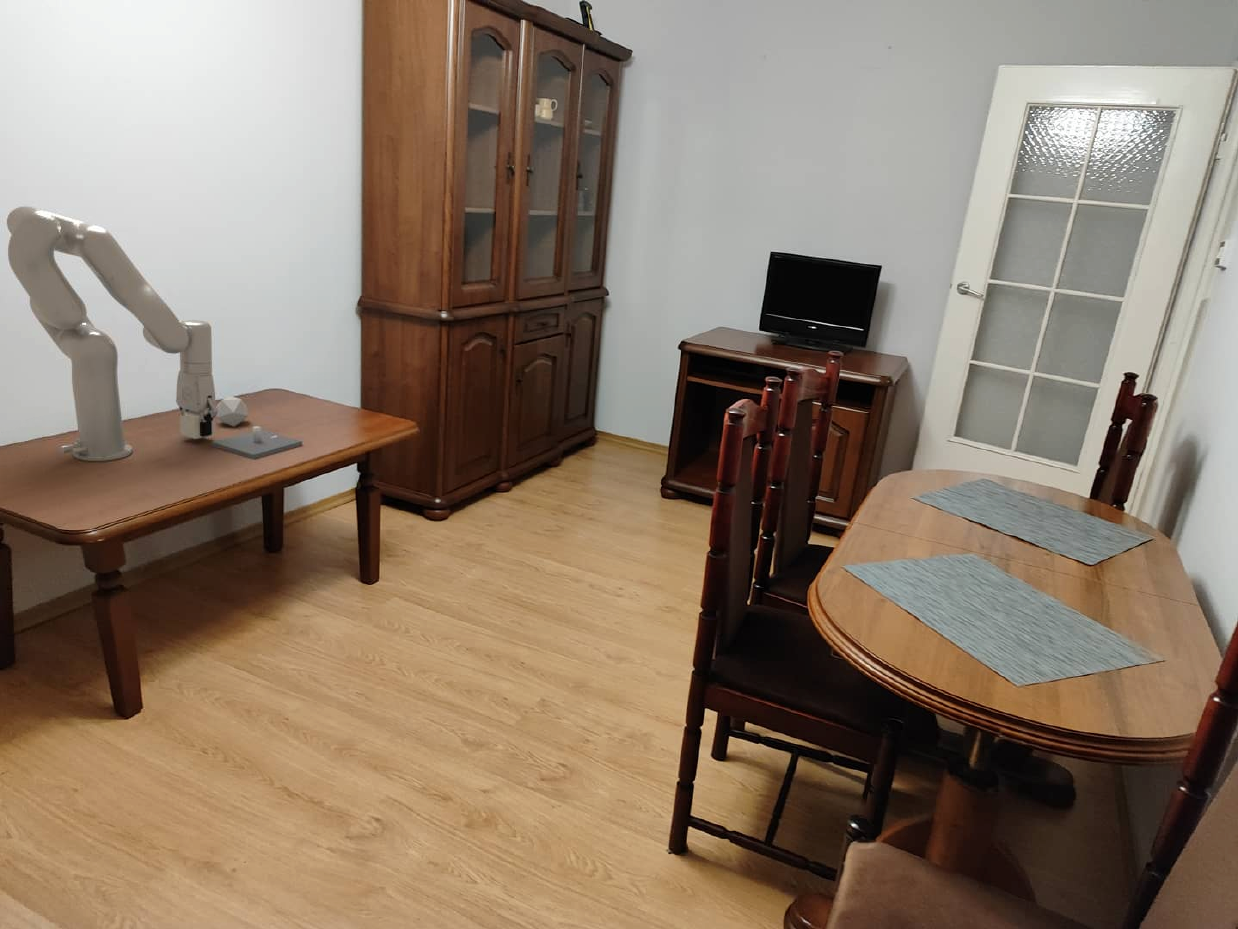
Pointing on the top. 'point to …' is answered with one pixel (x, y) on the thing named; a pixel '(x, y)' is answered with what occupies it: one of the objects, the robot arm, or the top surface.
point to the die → (232, 411)
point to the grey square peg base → (256, 443)
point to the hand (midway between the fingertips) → (197, 432)
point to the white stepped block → (193, 424)
